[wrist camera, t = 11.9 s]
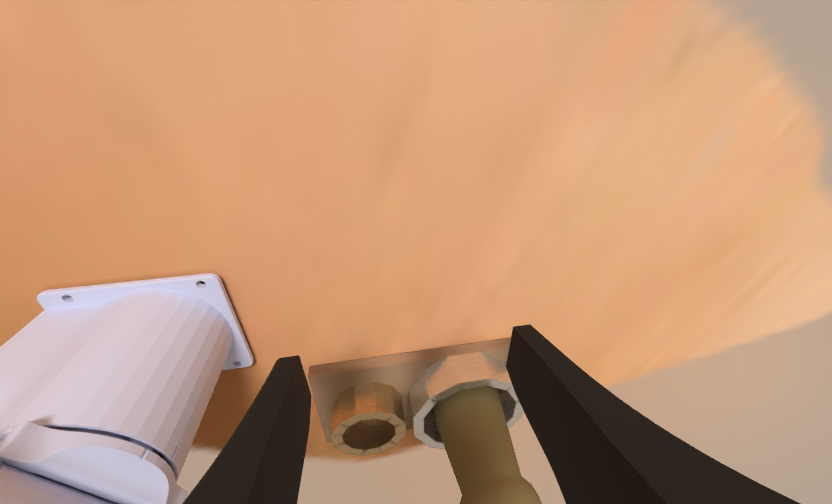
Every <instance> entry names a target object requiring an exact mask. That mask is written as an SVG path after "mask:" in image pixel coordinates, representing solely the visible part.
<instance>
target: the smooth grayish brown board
mask: <svg viewBox="0 0 832 504" xmlns="http://www.w3.org/2000/svg"><path fill="white" fill-rule="evenodd" d="M510 342H511V338H505V339H498V340H491V341H484V342H477V343H470V344H463V345H456V346H449V347H442V348H435V349H428V350H421V351H414V352H407V353H400V354H393V355H386V356H379V357H372V358H365V359H358V360H351V361H344V362H337V363H330V364H323V365H316V366H310V367H309V375H308V379H309V382H310V385H311V389H312V392H313V395H314V399H315V402H316V405H317V409H318V412H319V415H320V419H321V422H322V425H323V429H324V432H325V435H326V439H327V442H328V443H329V442H332V439H331V420H332V405H333V403H334V402H335V400H336V398H337V397H338V395H339V394H340V393H342V392H343V391H345V390H347V389H349V388H351V387H352V386H354V385H359V384H365V383H372V382H376V383H381V384H386V385H391V386H392V387H393V388H395V389H396V390H397V391H398V392H399V393H400V394H401V396H402V403H403V411H404V418H405V428H406V429H410V428H413V425H412V419H411V413H410V406H409V388H410V387H411V386H412V384H413V383H414V382H415V380H416V379H417V378H418V376H419V375H420V374H421V372H422V371H423V370H425V369H427V368H428V367H430V366H432V365H434V364H436V363H438V362H440V361H441V360H443V359H445V358H447V357H449V356H454V355H461V354H468V353H474V352H482V353H485V354H489V355H493V356H496V357H500V358H503V359H504V361H505V362H507V357H508V352H509V347H510ZM497 390H498V393H499V392H500V391H501V390H502V389H499V388H497ZM428 413H429V414H432V411H431V410H430V411H429V412H428Z"/></svg>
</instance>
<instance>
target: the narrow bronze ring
mask: <svg viewBox="0 0 832 504" xmlns="http://www.w3.org/2000/svg"><path fill="white" fill-rule="evenodd" d="M405 434H406V428H405V418H404V411H403V403H402V396H401V394H400V393H399V392H398V391H397V390H396V389H395V388H393V387H392V386H391V385H386V384H381V383H376V382H372V383H365V384H359V385H354V386H352V387H351V388H349V389H347V390H345V391H343V392H342V393H340V394H339V395H338V397H337V398H336V400H335V402H334V403H333V405H332V420H331V439H332V442H333V446H334V447H335V448H337V449H339V450H341V451H342V452H344V453H346V454H354V455H369V454H375V453H380V452H383V451H385V450H387V449H389V448H391V447H393V446H395V445H397V444H398V443H399V442H400V440H401V439H402V438H403V437H404V436H405Z"/></svg>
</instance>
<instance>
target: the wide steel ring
mask: <svg viewBox="0 0 832 504" xmlns="http://www.w3.org/2000/svg"><path fill="white" fill-rule="evenodd" d="M482 386H490V387H494V388H499V389H502V390H501V391H500V392H499V397H500V401H501V404H502V408H503V411H504V415H505V419H506V422H507V426H508V429H509V428H510V427H511V426H512V425H514V424H515V423H516V422H517V421H518V420H519V419H520V418H521V417H522V413H523V408H522V406H521V404H520V402H519V400H518V398H517V396H516V393H515V391H514V388H513V385H512V383H511V380H510V377H509V374H508V371H507V368H506V362H505V361H504V359H503V358H500V357H496V356H493V355H489V354H485V353H482V352H474V353H468V354H461V355H454V356H449V357H447V358H445V359H443V360H441V361H440V362H438V363H436V364H434V365H432V366H430V367H428V368H427V369H425V370H423V371H422V372H421V374H420V375H419V376H418V378H417V379H416V380H415V382H414V383H413V384H412V386H411V387H410V388H409V406H410V413H411V419H412V425H413V432H414V436H415V437H416V438H418V439H419V440H420V441H422V442H423V443H424V444H426V445H427V446H428V447H432V448H440V449H445V446H444V444H443V441H442V438H441V436H440V433H439V430H438V427H437V425H436V422H435V419H434V416H433V414H429V413H428V412H429V411H430V410H431V409H432V407H433V406H434V405H435V404H436V403H437V402H438V401H440V400H442V399H444V398H446V397H448V396H450V395H452V394H453V393H455V392H457V391H459V390H463V389H469V388H476V387H482Z"/></svg>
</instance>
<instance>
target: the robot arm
mask: <svg viewBox="0 0 832 504" xmlns="http://www.w3.org/2000/svg"><path fill="white" fill-rule="evenodd" d="M199 281H203V282H205V284H202V283H200V282H199ZM69 296H71V297H69ZM37 301H38V302H39V303H40V305H41V306H42V307H43V308H44V311H43V312H41V313H40V314H39V315H38V316H37V317H36V318H34V319H33V320H32V321H31V322H30V323H28V324H27V325H26V326H25V327H24V328H23V329H21V330H20V331H19V332H18V333H17V334H15V335H14V336H13V337H12V338H11V339H9V340H8V341H7V342H6V343H5V344H4V345H2V346H1V347H0V504H297V499H298V493H299V487H300V481H301V475H302V470H303V463H304V458H305V452H306V446H307V439H308V433H309V425H310V409H311V393H310V390H309V386H308V383H307V380H306V377H305V373H304V370H303V367H302V364H301V360H300V357H299V356H292V357H284V358H279V359H278V360H277V361H276V363H275V365H274V367H273V368H272V370H271V372H270V374H269V376H268V378H267V379H266V381H265V383H264V385H263V386H262V388H261V390H260V391H259V393H258V395H257V397H256V398H255V400H254V402H253V403H252V405H251V406H250V408H249V410H248V411H247V413H246V414H245V416H244V418H243V419H242V421H241V422H240V424H239V426H238V427H237V429H236V430H235V432H234V433H233V435H232V436H231V438H230V439H229V441H228V442H227V443H226V445H225V446H224V448H223V449H222V451H221V452H220V454H219V455H218V457H217V458H216V460H215V461H214V462H213V464H212V465H211V467H210V468H209V469H208V471H207V472H206V473H205V475H204V476H203V477H202V479H201V480H200V481H199V483H198V484H197V485H196V487H195V488H194V489H193V491H192V492H191V493H190V495H189V496H188V497H187V498H186V495H187V491H186V490H184V489H182V488H181V487H179V486H178V485H177V483H176V481H177V479H178V476H179V474H180V472H181V469H182V466H183V464H184V462H185V459H186V457H187V455H188V452H189V450H190V447H191V445H192V442H193V440H194V437H195V435H196V433H197V430H198V428H199V425H200V423H201V420H202V418H203V415H204V413H205V410H206V408H207V406H208V403H209V401H210V398H211V396H212V393H213V391H214V388H215V386H216V384H217V381H218V379H219V376H220V374H221V371H222V370H229V369H236V368H243V367H249V366H251V365H252V364H253V361H254V358H253V355H252V353H251V350H250V348H249V345H248V343H247V341H246V338H245V336H244V333H243V331H242V329H241V326H240V324H239V321H238V319H237V317H236V314H235V312H234V309H233V307H232V304H231V302H230V300H229V297H228V295H227V292H226V290H225V288H224V285H223V283H222V280H221V278H220V277H219V276H218V275H216V274H213V273H207V274H197V275H188V276H178V277H168V278H159V279H149V280H139V281H129V282H120V283H110V284H100V285H91V286H81V287H71V288H62V289H52V290H45V291H43V292H41V293H40V294H39V295H38V296H37ZM237 361H239V362H237ZM506 368H507V371H508V374H509V377H510V380H511V383H512V385H513V388H514V391H515V393H516V396H517V398H518V400H519V402H520V404H521V406H522V408H523V410H524V412H525V414H526V416H527V418H528V420H529V423H530V425H531V427H532V429H533V431H534V433H535V435H536V437H537V439H538V441H539V443H540V444H541V447H542V449H543V451H544V453H545V455H546V456H547V459H548V461H549V463H550V465H551V467H552V470H553V472H554V474H555V476H556V479H557V482H558V484H559V487H560V489H561V491H562V494H563V497H564V499H565V502H566V504H800V503H798V502H796V501H794V500H792V499H790V498H788V497H785V496H784V495H782V494H779V493H777V492H775V491H773V490H771V489H769V488H767V487H765V486H763V485H761V484H759V483H757V482H755V481H753V480H752V479H750V478H748V477H746V476H744V475H742V474H740V473H738V472H737V471H735V470H733V469H731V468H729V467H727V466H726V465H724V464H722V463H720V462H718V461H716V460H715V459H713V458H711V457H709V456H708V455H706V454H704V453H702V452H701V451H699V450H697V449H695V448H694V447H692V446H690V445H689V444H687V443H686V442H684V441H682V440H681V439H679V438H677V437H676V436H674V435H672V434H671V433H669V432H668V431H666V430H664V429H663V428H661V427H660V426H658V425H656V424H655V423H654V422H652V421H650V420H649V419H648V418H646V417H645V416H643V415H642V414H640V413H639V412H637V411H636V410H634V409H633V408H631V407H630V406H629V405H627V404H626V403H624V402H623V401H622V400H620V399H619V398H618V397H616V396H615V395H613V394H612V393H611V392H610V391H608V390H607V389H606V388H604V387H603V386H602V385H600V384H599V383H598V382H597V381H595V380H594V379H593V378H592V377H590V376H589V375H588V374H587V373H586V372H584V371H583V370H582V369H581V368H580V367H578V366H577V365H576V364H575V363H573V362H572V361H571V360H570V359H569V358H568V357H566V356H565V355H564V354H563V353H562V352H561V351H560V350H558V349H557V348H556V347H555V346H554V345H553V344H552V343H550V342H549V341H548V340H547V339H546V338H545V337H544V336H542V335H541V334H540V333H539V332H538V331H537V330H536V329H535V328H533V327H532V326H531V325H523V326H516V327H513V331H512V336H511V342H510V347H509V352H508V357H507V362H506ZM185 498H186V500H185Z"/></svg>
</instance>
